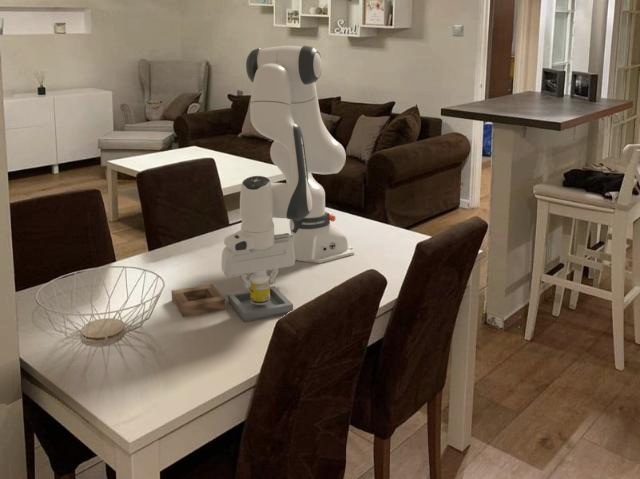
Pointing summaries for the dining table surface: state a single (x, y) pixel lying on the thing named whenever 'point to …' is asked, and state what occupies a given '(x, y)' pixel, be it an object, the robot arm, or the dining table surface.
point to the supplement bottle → (260, 288)
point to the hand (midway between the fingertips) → (259, 285)
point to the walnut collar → (198, 306)
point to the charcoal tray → (256, 312)
